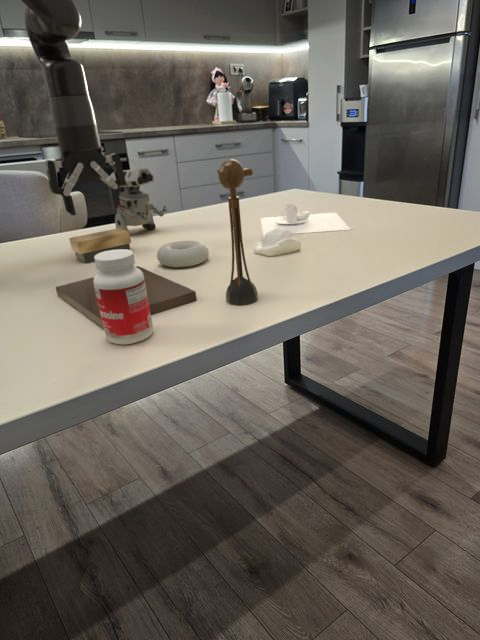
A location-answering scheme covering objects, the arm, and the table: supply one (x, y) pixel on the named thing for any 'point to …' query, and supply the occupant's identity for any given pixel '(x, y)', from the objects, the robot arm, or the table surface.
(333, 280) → the table surface
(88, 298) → the board
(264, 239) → the white lumpy piece
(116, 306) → the pill bottle
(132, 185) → the figurine
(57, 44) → the robot arm
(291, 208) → the teacup and saucer
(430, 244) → the table surface
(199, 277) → the table surface
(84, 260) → the brush
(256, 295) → the wooden tabletop sculpture
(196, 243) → the donut
